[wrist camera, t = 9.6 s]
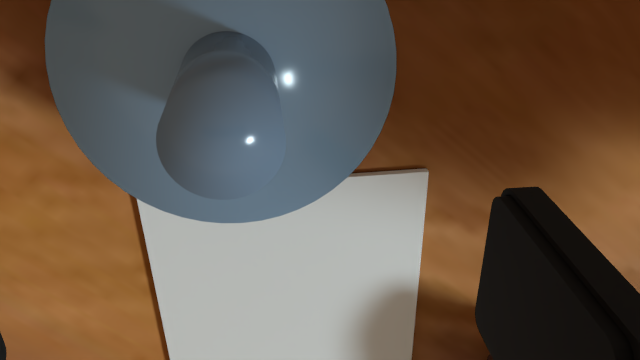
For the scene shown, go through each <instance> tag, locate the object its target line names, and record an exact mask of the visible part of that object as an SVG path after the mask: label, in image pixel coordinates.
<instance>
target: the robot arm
mask: <svg viewBox="0 0 640 360" xmlns="http://www.w3.org/2000/svg"><path fill="white" fill-rule="evenodd" d="M475 318H476V323H477V327H478V329H479V332H480V334H481V336H482V338H483V340H484V342H485V344H486V346H487V348H488V350H489V352H490V354H491V356H492V358H493V360H640V294H639V293H638V292H637V291H636V289H635V288H634V287H633V286H632V285H631V284H630V283H629V282H628V281H627V280H626V279H625V278H624V277H623V276H622V275H621V273H620V272H619V271H618V270H617V269H616V268H615V267H614V266H613V265H612V264H611V263H610V262H609V261H608V260H607V259H606V257H605V256H604V255H603V254H602V253H601V252H600V251H599V250H598V249H597V248H596V247H595V246H594V245H593V244H592V243H591V242H590V240H589V239H588V238H587V237H586V236H585V235H584V234H583V233H582V232H581V231H580V230H579V229H578V228H577V227H576V226H575V224H574V223H573V222H572V221H571V220H570V219H569V218H568V217H567V216H566V215H565V214H564V213H563V212H562V211H561V210H560V208H559V207H558V206H557V205H556V204H555V203H554V202H553V201H552V200H551V199H550V198H549V197H548V196H547V195H546V194H545V193H544V191H543V190H542V189H540V188H539V187H523V188H507V189H505V190H504V191H503V193H502V195H501V197H495V198H494V200H493V202H492V207H491V213H490V219H489V226H488V232H487V238H486V245H485V251H484V257H483V264H482V270H481V276H480V283H479V289H478V296H477V302H476V308H475ZM0 360H6V347H5V343H4V341H3V338H2V336H1V333H0Z"/></svg>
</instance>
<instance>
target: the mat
mask: <svg viewBox="0 0 640 360" xmlns="http://www.w3.org/2000/svg"><path fill="white" fill-rule="evenodd" d="M428 175H429V171H428V170H427V168H425V169H410V170H396V171H381V172H366V173H352V174H350V175H349V176H348V177H347V178H346V179H345V180H344V181H343V182H341V183H340V184H339V185H338V186H337V187H335V188H334V189H333V190H332V191H330V192H329V193H327V194H326V195H324V196H322V197H321V198H319V199H318V200H316V201H315V202H313V203H311V204H309V205H306V206H304V207H302V208H300V209H298V210H296V211H293V212H290V213H287V214H285V215H282V216H279V217H274V218H270V219H266V220H262V221H254V222H246V223H213V222H203V221H198V220H193V219H188V218H183V217H180V216H177V215H173V214H170V213H167V212H164V211H162V210H159V209H157V208H155V207H153V206H150V205H148V204H146V203H144V202H142V201H140V200H139V199H137V203H138V208H139V212H140V217H141V222H142V227H143V232H144V236H145V241H146V246H147V251H148V256H149V261H150V265H151V270H152V275H153V280H154V285H155V289H156V294H157V299H158V304H159V309H160V313H161V318H162V323H163V328H164V333H165V338H166V342H167V347H168V352H169V357H170V360H411V359H412V348H413V338H414V327H415V316H416V305H417V294H418V283H419V272H420V261H421V251H422V240H423V229H424V218H425V207H426V196H427V185H428Z"/></svg>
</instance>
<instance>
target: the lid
mask: <svg viewBox="0 0 640 360" xmlns="http://www.w3.org/2000/svg"><path fill="white" fill-rule="evenodd" d="M45 57H46V67H47V73H48V78H49V84H50V88H51V91H52V94H53V97H54V100H55V103H56V106H57V109H58V111H59V113H60V115H61V117H62V119H63V122H64V124H65V126H66V128H67V130H68V131H69V133H70V134H71V136H72V137H73V139H74V140H75V142H76V144H77V145H78V147H79V148H80V149H81V150H82V152H83V153H84V154H85V155H86V156H87V158H88V159H89V160H90V161H91V162H92V164H93V165H94V166H95V167H96V168H98V169H99V170H100V171H101V172H102V173H103V174H104V175H105V176H106V177H107V178H108V179H109V180H111V181H112V182H113V183H115V184H116V185H117V186H119V187H120V188H121V189H123V190H124V191H125V192H127V193H128V194H130V195H132V196H134V197H135V198H137V199H139V200H140V201H142V202H144V203H146V204H148V205H150V206H153V207H155V208H157V209H159V210H162V211H164V212H167V213H170V214H173V215H177V216H180V217H183V218H188V219H193V220H198V221H203V222H213V223H246V222H254V221H262V220H266V219H270V218H274V217H279V216H282V215H285V214H287V213H290V212H293V211H296V210H298V209H300V208H302V207H304V206H306V205H309V204H311V203H313V202H315V201H316V200H318V199H319V198H321V197H322V196H324V195H326V194H327V193H329V192H330V191H332V190H333V189H334V188H335V187H337V186H338V185H339V184H340V183H341V182H343V181H344V180H345V179H346V178H347V177H348V176H349V175H350V174H351V173H352V172H353V171H354V170H355V169H356V168H357V167H358V166H359V164H360V163H361V162H362V160H363V159H364V158H365V156H366V155H367V154H368V152H369V151H370V150H371V148H372V146H373V145H374V143H375V141H376V139H377V137H378V136H379V134H380V132H381V130H382V127H383V125H384V123H385V120H386V118H387V115H388V113H389V109H390V105H391V101H392V98H393V94H394V87H395V79H396V44H395V37H394V29H393V25H392V22H391V18H390V14H389V11H388V7H387V4H386V2H385V0H51V4H50V8H49V12H48V16H47V24H46V34H45Z"/></svg>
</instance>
